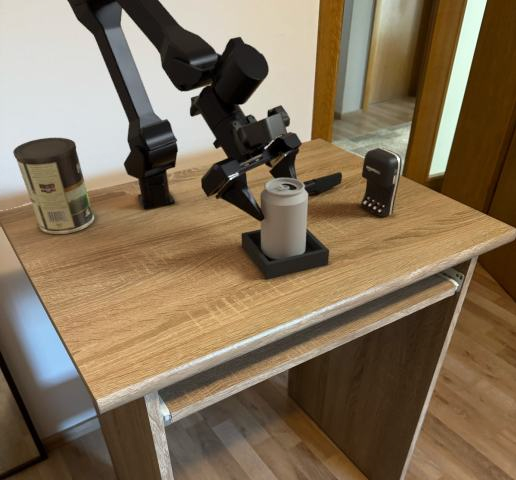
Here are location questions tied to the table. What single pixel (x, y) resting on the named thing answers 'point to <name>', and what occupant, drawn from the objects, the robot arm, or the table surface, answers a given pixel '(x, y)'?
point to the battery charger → (381, 180)
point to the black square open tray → (271, 268)
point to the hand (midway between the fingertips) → (281, 209)
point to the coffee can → (55, 184)
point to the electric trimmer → (323, 183)
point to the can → (283, 218)
